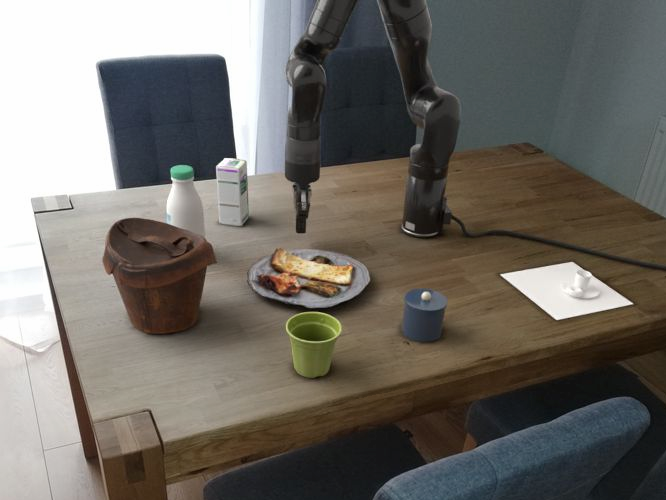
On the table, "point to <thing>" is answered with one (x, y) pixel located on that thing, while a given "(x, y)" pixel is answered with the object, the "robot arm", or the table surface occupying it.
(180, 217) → the milk bottle
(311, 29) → the robot arm
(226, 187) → the syrup box
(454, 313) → the table surface
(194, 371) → the table surface
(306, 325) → the plant pot
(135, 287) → the brown covered bucket
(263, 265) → the food plate
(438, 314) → the sugar pot
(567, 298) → the teacup and saucer
